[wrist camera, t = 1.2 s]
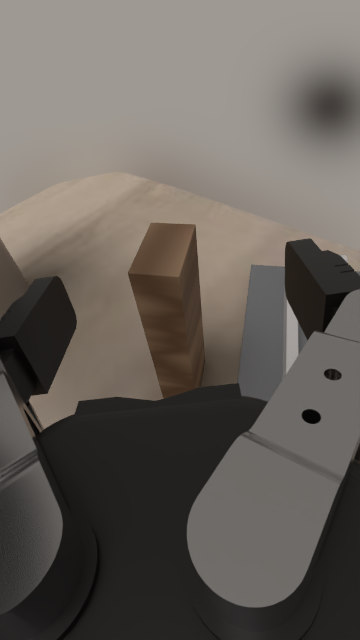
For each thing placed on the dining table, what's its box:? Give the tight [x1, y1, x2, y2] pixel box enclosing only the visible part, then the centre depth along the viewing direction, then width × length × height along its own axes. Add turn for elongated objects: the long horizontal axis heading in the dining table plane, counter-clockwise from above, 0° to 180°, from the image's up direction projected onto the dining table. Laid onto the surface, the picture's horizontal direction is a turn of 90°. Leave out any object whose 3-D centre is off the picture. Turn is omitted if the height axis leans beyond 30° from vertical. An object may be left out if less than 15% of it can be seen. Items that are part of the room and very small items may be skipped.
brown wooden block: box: [128, 223, 205, 399], centre depth 26 cm, size 3×5×16 cm, turn 168°
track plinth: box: [238, 255, 360, 402], centre depth 31 cm, size 14×22×4 cm, turn 168°
